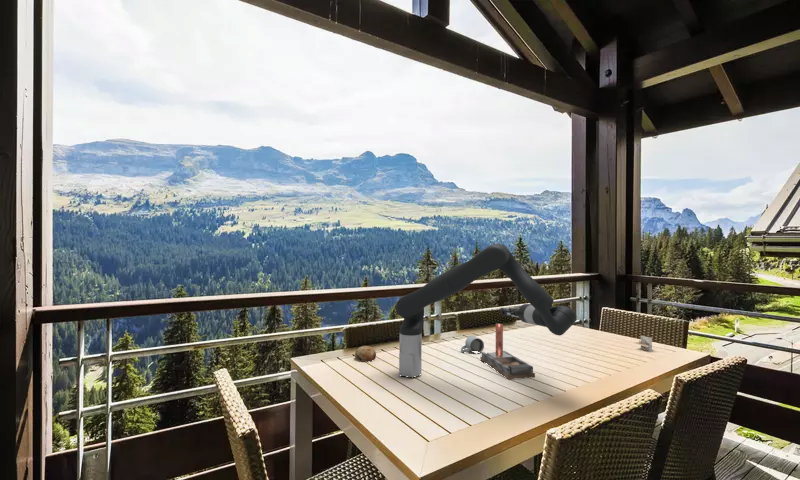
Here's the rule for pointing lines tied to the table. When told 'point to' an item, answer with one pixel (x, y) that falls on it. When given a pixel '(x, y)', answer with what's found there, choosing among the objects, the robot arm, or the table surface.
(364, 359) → the bread roll
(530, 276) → the robot arm
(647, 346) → the architectural model
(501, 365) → the press base
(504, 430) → the table surface
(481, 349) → the ceramic mug
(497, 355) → the slider
